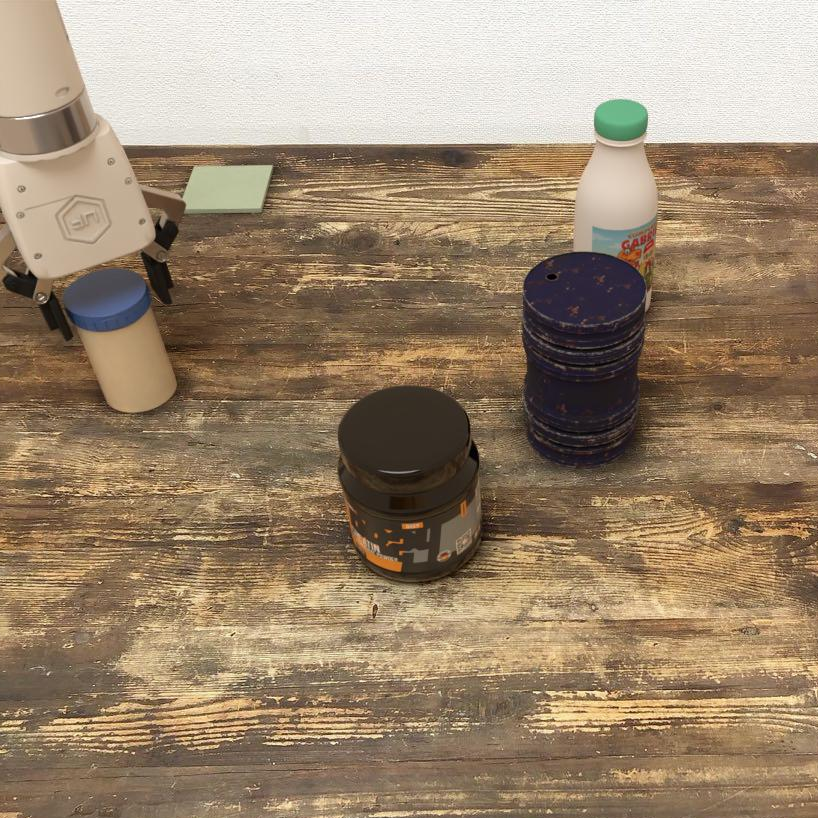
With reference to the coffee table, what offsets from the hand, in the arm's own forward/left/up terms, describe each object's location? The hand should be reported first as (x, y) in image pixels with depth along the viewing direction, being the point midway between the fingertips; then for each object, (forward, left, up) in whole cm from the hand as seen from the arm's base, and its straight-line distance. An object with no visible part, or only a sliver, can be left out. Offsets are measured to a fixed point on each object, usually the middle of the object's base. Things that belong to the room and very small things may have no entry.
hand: (114, 313), depth 91 cm
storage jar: (+30, -27, -9) cm, 41 cm away
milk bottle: (+43, -14, -9) cm, 46 cm away
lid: (0, 0, +2) cm, 2 cm away
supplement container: (+12, -30, -9) cm, 33 cm away
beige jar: (0, 0, -9) cm, 9 cm away
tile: (+20, +27, -9) cm, 35 cm away
